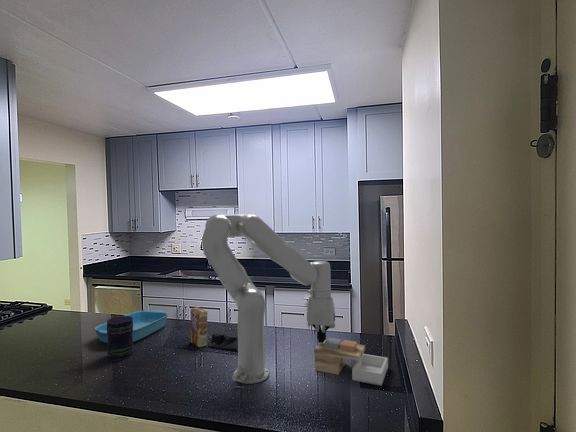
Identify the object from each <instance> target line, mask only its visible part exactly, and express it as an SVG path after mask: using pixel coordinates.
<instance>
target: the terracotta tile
mask: <svg viewBox="0 0 576 432" xmlns="http://www.w3.org/2000/svg"><path fill="white" fill-rule="evenodd" d="M341 342H342V343H341V344H340V350H343V351H349V352H354V351H355V349H356V348H357V344H358V341H355V340H348V339H343V341H341Z"/></svg>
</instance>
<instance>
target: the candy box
mask: <svg viewBox="0 0 576 432" xmlns="http://www.w3.org/2000/svg"><path fill="white" fill-rule="evenodd" d="M190 342H191V344H193V345H195V346H196V347H198V348H202V347H206V346H207V347H208V311H207V310H205V309H203V308H201V307H193V308H190Z"/></svg>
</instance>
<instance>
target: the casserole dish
mask: <svg viewBox="0 0 576 432" xmlns="http://www.w3.org/2000/svg"><path fill="white" fill-rule="evenodd" d="M123 316H131V317H133V320H132V321H133V332H132V339H133V343H135V342H138V341H139V340H142V339H143V338H146V337H147V336H149V335H151V334H153V333H155V332H157V331H159V330H160V329H162V328H163V327H164V326H165V325H166V323H167V319H168V316H169V313H168V312H165V311H163V310H156V309H155V310H154V309H153V310H152V309H151V310H138V311H134V312H130V313H128V314H125V315H123ZM94 330H95V333H96V336H97V338H98V340H99V341H101V342H103V343H105V344H108V335H107V321H106V322H104V323H101V324H99V325H97V326H95V328H94Z"/></svg>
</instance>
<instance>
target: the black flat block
mask: <svg viewBox="0 0 576 432" xmlns="http://www.w3.org/2000/svg"><path fill="white" fill-rule="evenodd" d="M207 347H208V348H215V349H219V350H231V351H235V352H238V335H236V334H235V335H234V334H230V333H229V334H227V333H219V332H217V333H215V332H214V333H213V334H212V336H211V341H210V344H207Z"/></svg>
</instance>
